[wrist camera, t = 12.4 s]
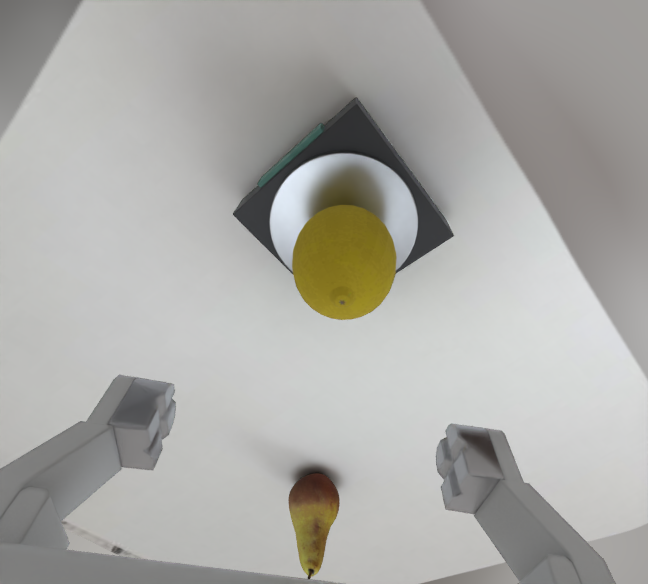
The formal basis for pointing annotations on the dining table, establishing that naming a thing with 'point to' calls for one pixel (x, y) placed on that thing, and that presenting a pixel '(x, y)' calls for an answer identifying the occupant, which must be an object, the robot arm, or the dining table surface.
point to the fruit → (313, 518)
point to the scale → (343, 135)
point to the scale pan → (343, 198)
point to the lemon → (344, 262)
